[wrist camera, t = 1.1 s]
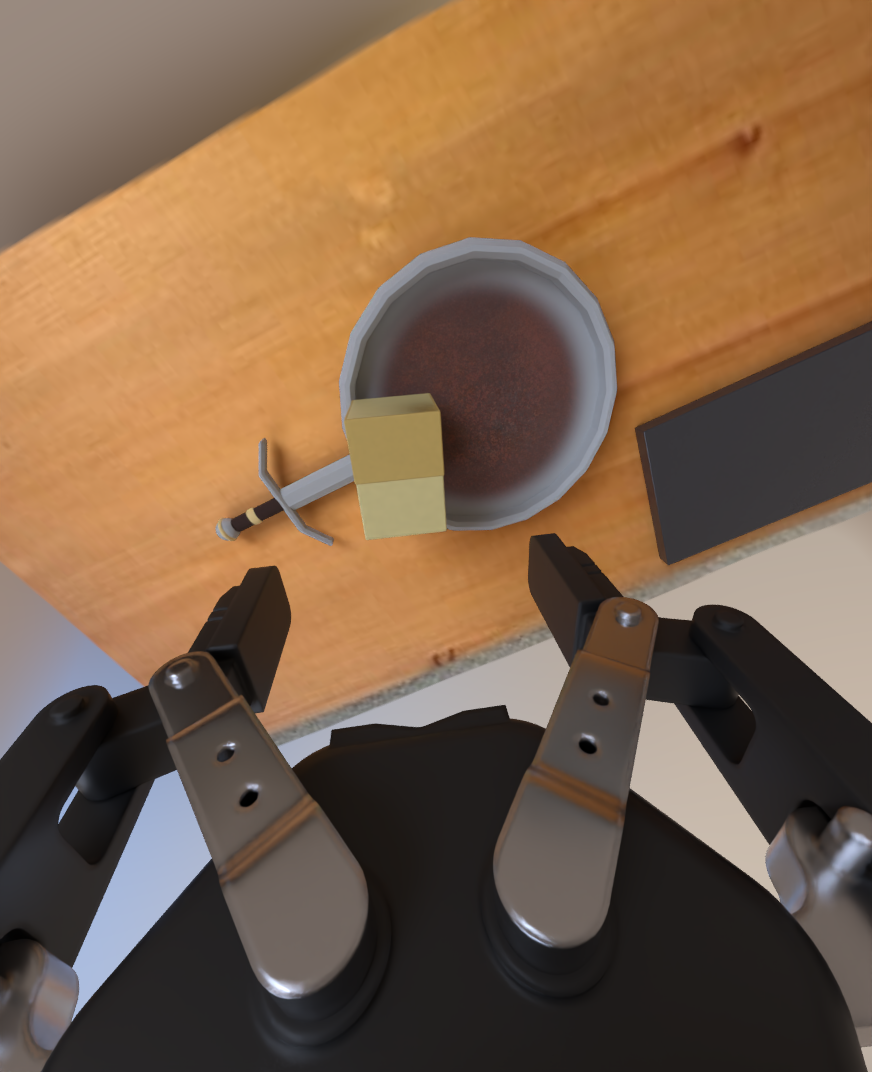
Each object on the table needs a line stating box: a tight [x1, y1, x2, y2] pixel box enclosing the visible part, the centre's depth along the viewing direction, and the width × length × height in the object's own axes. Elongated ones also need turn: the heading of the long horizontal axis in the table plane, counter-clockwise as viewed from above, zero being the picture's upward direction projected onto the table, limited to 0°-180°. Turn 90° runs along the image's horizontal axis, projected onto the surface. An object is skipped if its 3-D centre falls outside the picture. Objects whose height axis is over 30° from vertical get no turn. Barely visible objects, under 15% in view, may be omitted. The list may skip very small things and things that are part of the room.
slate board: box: [635, 321, 872, 565], centre depth 30 cm, size 20×12×1 cm, turn 114°
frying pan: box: [216, 237, 617, 546], centre depth 26 cm, size 17×3×28 cm
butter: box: [344, 393, 447, 540], centre depth 23 cm, size 4×6×5 cm
